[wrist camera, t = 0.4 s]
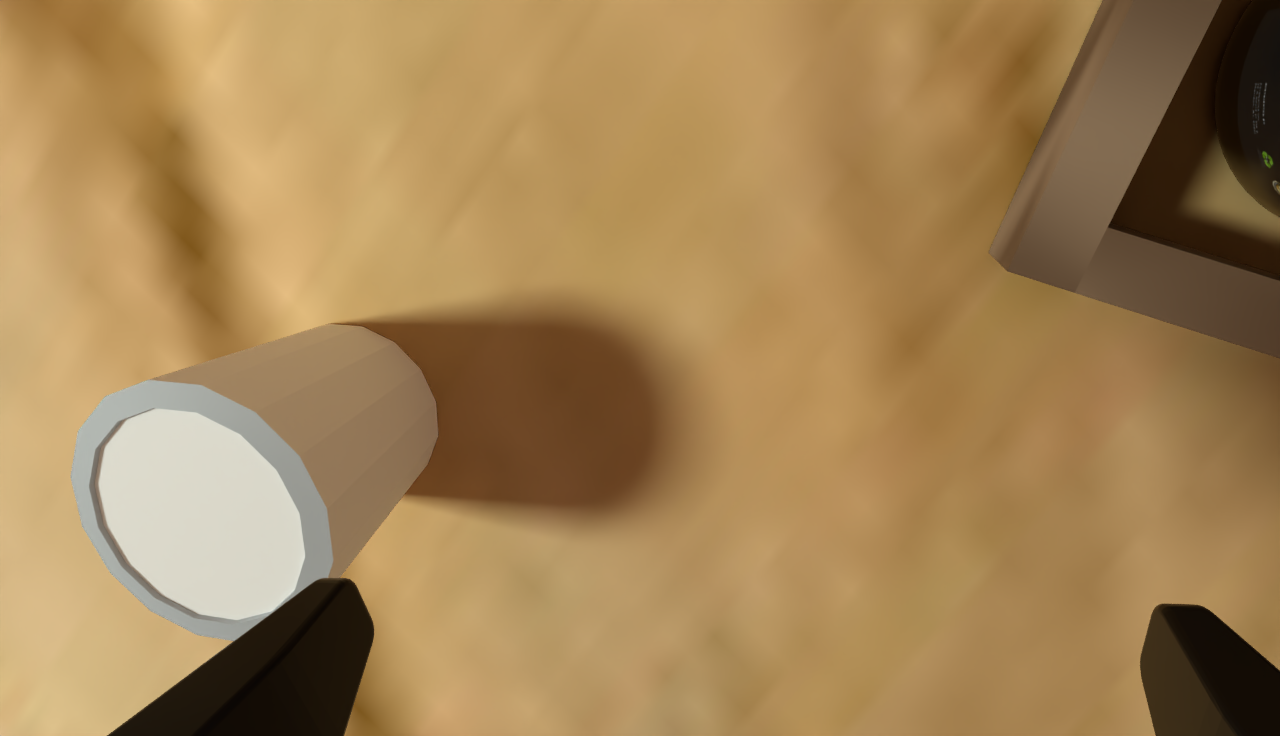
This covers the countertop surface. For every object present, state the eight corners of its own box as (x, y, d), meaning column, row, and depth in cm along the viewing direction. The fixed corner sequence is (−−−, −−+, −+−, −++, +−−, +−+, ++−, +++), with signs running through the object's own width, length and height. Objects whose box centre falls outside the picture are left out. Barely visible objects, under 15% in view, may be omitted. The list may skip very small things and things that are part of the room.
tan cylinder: (368, 260, 24) (197, 326, 17) (500, 453, 25) (387, 582, 18) (214, 369, 26) (13, 462, 20) (342, 540, 27) (192, 682, 21)
